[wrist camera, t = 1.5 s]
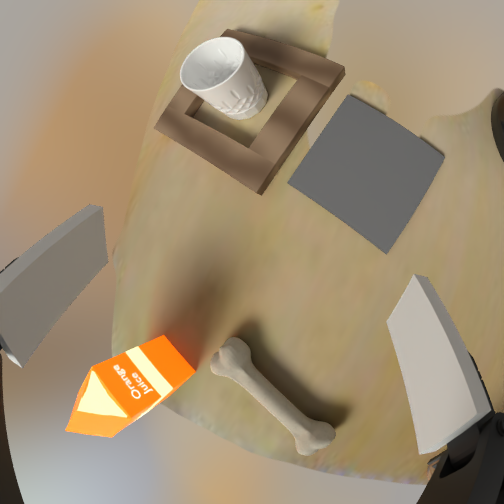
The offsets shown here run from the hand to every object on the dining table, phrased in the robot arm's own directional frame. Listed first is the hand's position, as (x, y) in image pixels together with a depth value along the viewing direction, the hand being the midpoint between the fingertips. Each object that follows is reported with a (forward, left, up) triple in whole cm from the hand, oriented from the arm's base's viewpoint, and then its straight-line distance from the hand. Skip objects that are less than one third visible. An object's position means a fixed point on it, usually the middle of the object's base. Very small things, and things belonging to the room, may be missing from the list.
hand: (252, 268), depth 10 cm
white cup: (-11, -19, -22) cm, 31 cm away
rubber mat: (-11, 0, -22) cm, 25 cm away
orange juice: (+29, -7, -22) cm, 37 cm away
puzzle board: (-11, -19, -22) cm, 31 cm away
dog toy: (+18, +8, -22) cm, 30 cm away
